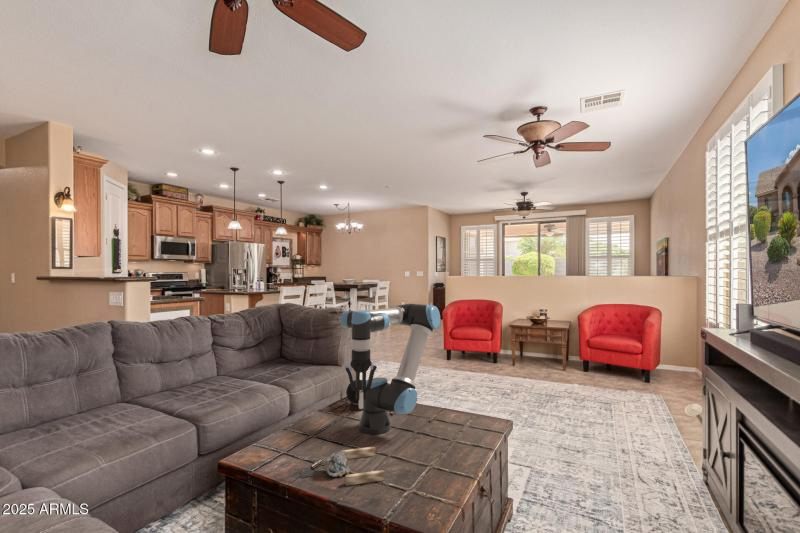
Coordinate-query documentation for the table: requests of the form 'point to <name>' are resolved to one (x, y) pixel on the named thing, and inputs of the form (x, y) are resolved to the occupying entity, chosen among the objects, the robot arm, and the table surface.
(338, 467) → the mineral specimen
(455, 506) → the table surface
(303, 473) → the dark gray rectangular slab
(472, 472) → the table surface
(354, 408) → the black round piece
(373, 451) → the wooden slats
